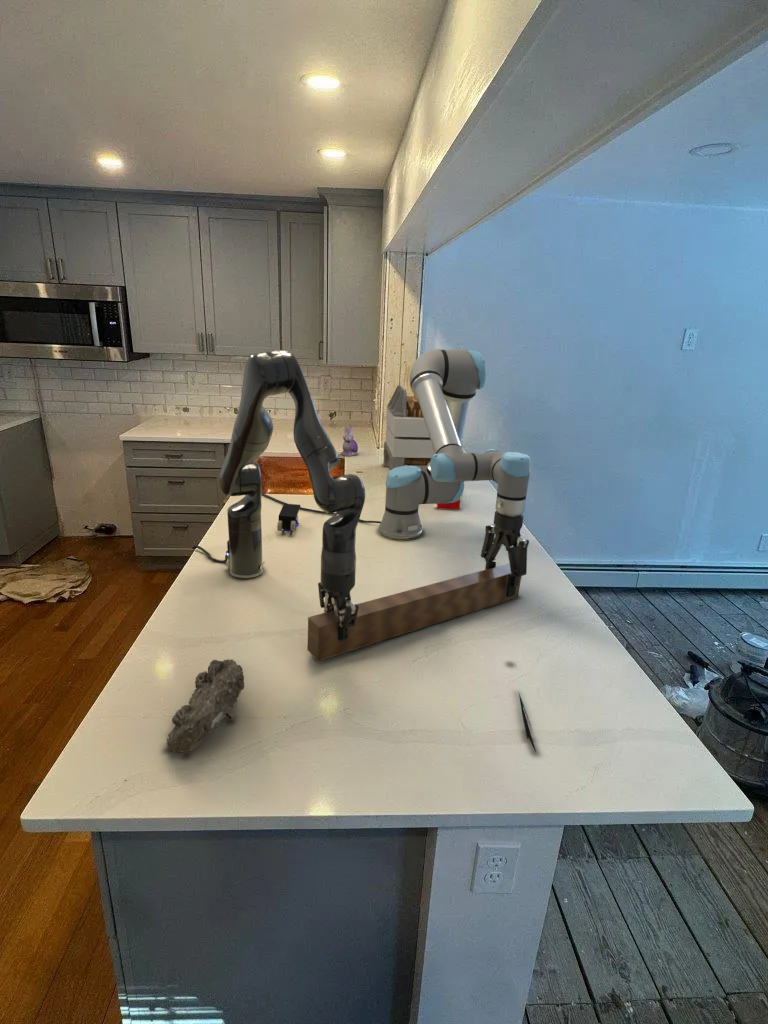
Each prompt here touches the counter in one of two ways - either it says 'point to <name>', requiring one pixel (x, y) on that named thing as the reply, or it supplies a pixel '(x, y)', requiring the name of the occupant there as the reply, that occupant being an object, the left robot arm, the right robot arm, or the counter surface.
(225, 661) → the fossil
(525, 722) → the feather
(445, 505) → the toy
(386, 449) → the grey wooden crate
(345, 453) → the figurine
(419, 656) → the counter surface
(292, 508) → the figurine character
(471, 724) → the counter surface
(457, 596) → the post
